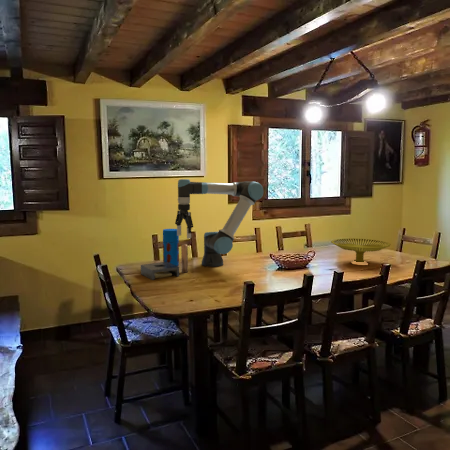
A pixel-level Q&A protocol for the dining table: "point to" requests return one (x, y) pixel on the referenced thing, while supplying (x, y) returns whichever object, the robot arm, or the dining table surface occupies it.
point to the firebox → (159, 270)
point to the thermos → (171, 246)
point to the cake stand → (360, 247)
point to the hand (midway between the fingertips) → (184, 236)
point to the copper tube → (184, 258)
